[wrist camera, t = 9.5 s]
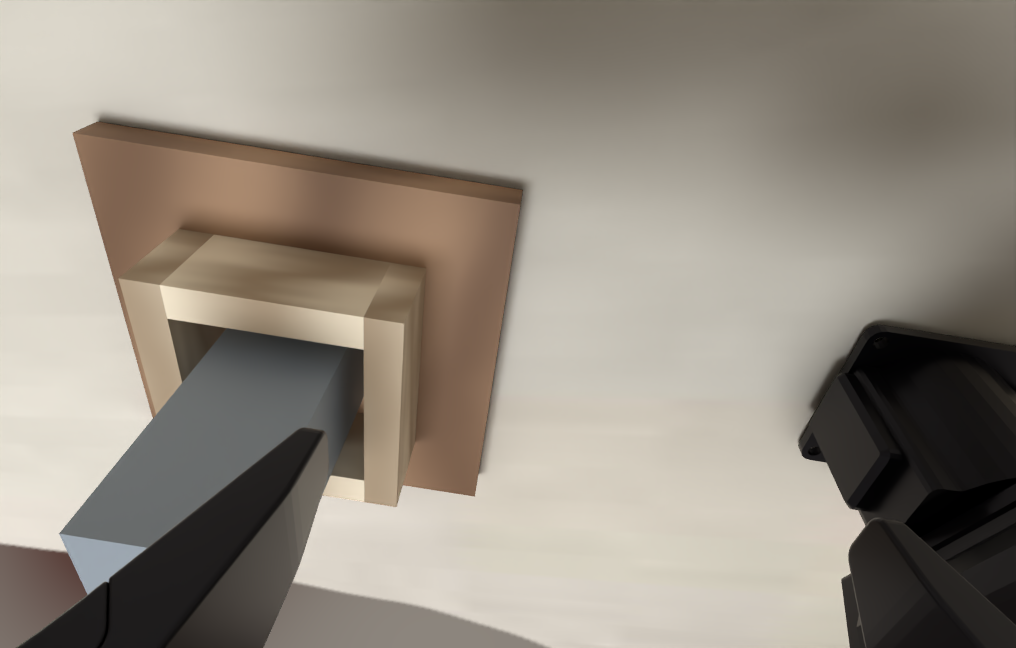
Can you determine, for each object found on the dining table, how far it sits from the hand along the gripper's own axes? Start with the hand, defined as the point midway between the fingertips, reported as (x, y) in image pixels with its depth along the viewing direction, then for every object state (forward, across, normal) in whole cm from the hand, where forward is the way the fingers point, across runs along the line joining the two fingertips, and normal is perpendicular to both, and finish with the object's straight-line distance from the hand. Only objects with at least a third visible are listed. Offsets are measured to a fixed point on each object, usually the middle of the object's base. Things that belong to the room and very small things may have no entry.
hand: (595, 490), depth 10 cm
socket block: (+12, +9, +7) cm, 17 cm away
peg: (+11, +9, +7) cm, 16 cm away
